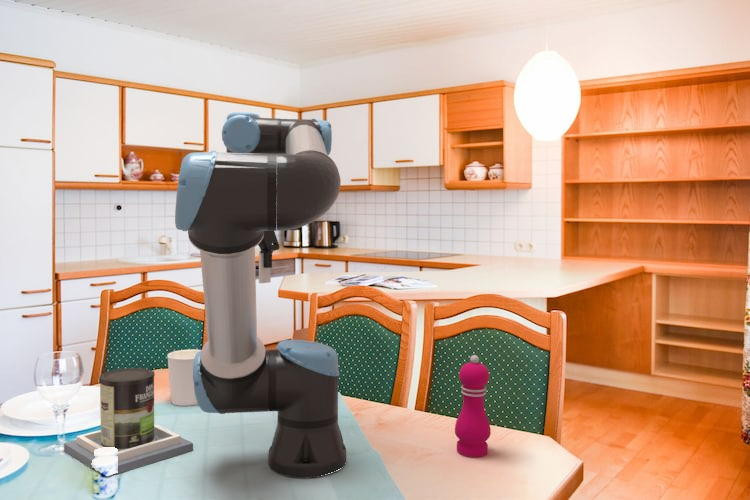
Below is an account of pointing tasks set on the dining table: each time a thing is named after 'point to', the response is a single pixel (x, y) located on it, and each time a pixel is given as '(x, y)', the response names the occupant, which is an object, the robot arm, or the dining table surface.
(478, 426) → the pepper mill
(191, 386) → the candle holder
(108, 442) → the coffee can
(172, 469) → the dining table surface
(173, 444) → the grey square tray
